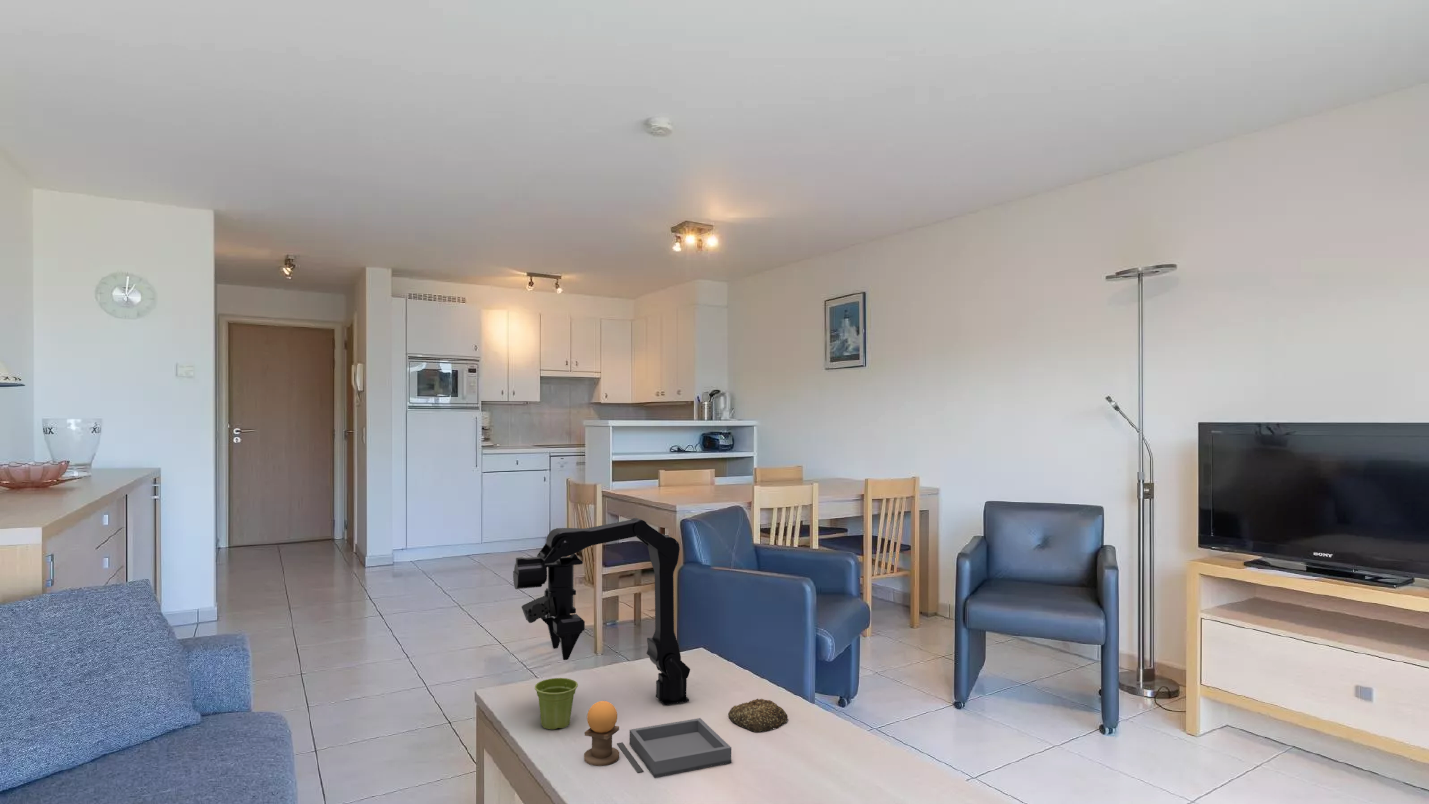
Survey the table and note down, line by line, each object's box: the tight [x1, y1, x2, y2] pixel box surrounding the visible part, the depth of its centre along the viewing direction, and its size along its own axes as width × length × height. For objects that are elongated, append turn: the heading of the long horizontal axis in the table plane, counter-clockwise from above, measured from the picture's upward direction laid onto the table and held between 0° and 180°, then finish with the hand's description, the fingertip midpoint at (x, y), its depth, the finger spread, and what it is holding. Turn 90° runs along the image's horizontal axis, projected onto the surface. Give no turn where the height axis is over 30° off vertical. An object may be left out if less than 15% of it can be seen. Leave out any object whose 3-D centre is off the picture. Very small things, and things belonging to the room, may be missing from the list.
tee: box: [583, 725, 620, 767], centre depth 151 cm, size 7×7×6 cm
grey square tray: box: [628, 717, 732, 779], centre depth 153 cm, size 16×16×3 cm
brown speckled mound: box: [728, 698, 789, 733], centre depth 171 cm, size 13×12×5 cm
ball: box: [586, 700, 618, 733], centre depth 151 cm, size 6×6×6 cm
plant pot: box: [534, 677, 579, 730], centre depth 167 cm, size 9×9×9 cm
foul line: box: [616, 741, 644, 774], centre depth 151 cm, size 1×14×1 cm, turn 24°
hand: (560, 654), depth 171 cm, fingers open, 9 cm apart
